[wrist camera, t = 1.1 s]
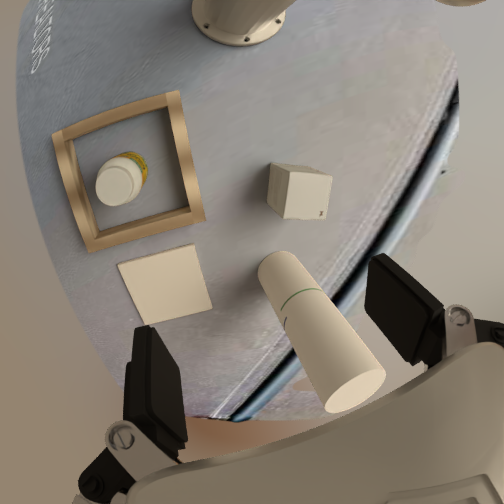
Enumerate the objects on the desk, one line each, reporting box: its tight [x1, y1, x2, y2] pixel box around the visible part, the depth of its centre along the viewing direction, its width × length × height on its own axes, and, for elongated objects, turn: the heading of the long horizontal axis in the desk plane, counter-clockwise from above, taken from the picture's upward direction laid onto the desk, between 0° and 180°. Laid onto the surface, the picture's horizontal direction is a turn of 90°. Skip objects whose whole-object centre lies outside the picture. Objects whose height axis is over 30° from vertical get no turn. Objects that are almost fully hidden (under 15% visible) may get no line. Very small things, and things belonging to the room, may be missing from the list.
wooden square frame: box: [52, 90, 206, 253], centre depth 31 cm, size 17×17×3 cm
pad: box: [118, 243, 213, 325], centre depth 41 cm, size 12×12×1 cm
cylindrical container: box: [258, 251, 386, 413], centre depth 34 cm, size 7×7×25 cm
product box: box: [267, 163, 333, 220], centre depth 35 cm, size 6×6×7 cm
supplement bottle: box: [95, 152, 148, 206], centre depth 28 cm, size 5×5×10 cm
